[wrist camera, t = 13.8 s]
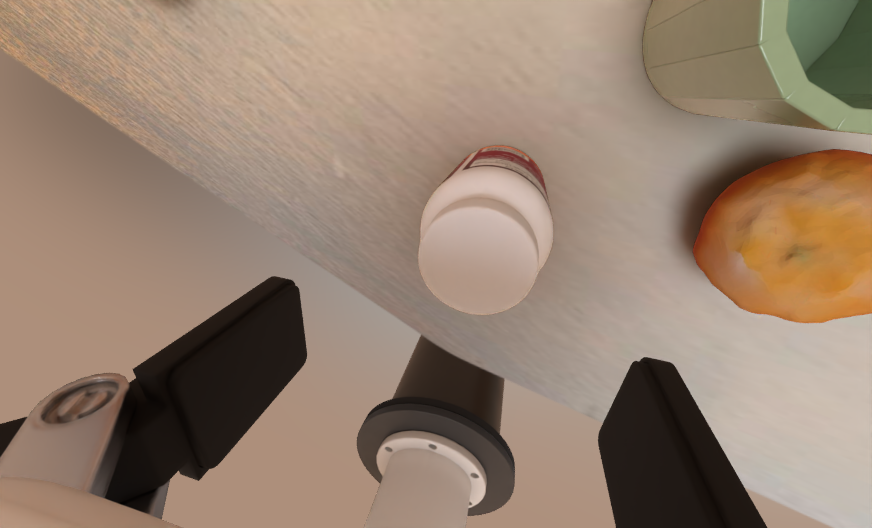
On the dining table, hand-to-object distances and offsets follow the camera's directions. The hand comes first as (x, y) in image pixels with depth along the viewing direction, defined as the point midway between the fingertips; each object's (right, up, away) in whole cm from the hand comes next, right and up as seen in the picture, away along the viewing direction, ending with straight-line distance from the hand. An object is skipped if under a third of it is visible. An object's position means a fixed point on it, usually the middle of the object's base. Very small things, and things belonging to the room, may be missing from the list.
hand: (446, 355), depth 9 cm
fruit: (+18, +6, +10) cm, 22 cm away
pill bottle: (+4, +8, +13) cm, 15 cm away
